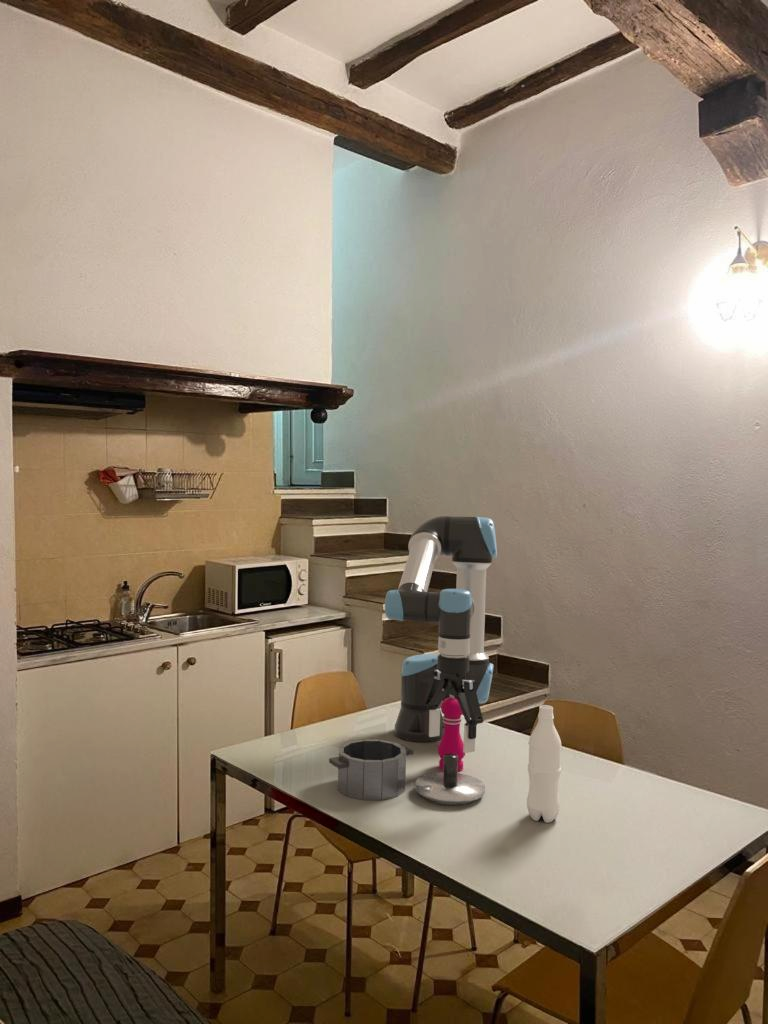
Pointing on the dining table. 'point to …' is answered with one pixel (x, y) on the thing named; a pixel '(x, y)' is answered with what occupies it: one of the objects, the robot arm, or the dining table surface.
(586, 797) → the dining table surface
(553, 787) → the water bottle
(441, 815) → the dining table surface
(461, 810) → the dining table surface
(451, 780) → the lid
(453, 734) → the pepper mill
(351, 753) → the pot
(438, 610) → the robot arm
